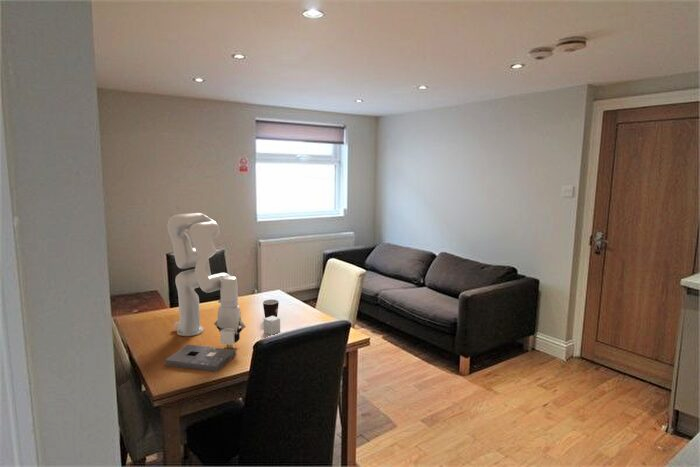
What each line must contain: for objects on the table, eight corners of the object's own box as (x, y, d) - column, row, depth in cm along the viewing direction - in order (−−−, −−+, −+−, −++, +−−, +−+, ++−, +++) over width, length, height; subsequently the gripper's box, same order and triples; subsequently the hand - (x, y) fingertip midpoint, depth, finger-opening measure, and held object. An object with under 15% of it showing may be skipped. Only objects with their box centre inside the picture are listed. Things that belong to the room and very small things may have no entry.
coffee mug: (270, 323, 226) (270, 305, 224) (259, 319, 231) (259, 302, 230) (286, 317, 235) (285, 300, 234) (275, 314, 240) (275, 297, 239)
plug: (220, 348, 193) (220, 331, 192) (228, 342, 200) (227, 325, 198) (232, 349, 192) (232, 332, 190) (239, 343, 198) (239, 327, 197)
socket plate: (165, 365, 177) (164, 358, 177) (187, 349, 193) (187, 342, 192) (216, 372, 172) (216, 364, 172) (235, 355, 187) (235, 348, 187)
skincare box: (272, 328, 219) (272, 315, 217) (280, 331, 215) (280, 318, 214) (263, 332, 214) (263, 318, 213) (271, 335, 210) (271, 321, 209)
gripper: (207, 304, 190) (209, 341, 193) (242, 307, 187) (243, 346, 190) (216, 299, 198) (217, 335, 201) (250, 302, 194) (250, 339, 197)
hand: (230, 340), depth 195 cm, fingers closed on plug, 6 cm apart
